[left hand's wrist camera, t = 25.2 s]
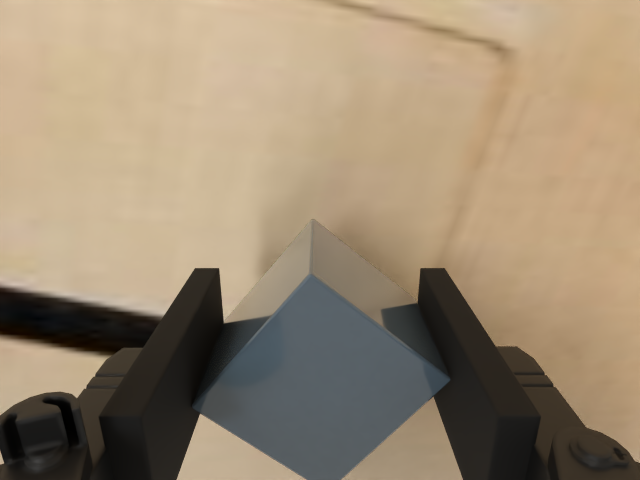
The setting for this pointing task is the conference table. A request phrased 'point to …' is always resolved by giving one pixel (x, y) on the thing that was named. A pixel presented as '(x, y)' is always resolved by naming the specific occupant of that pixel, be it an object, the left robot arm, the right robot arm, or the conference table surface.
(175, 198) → the conference table surface
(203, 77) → the conference table surface
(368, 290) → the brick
